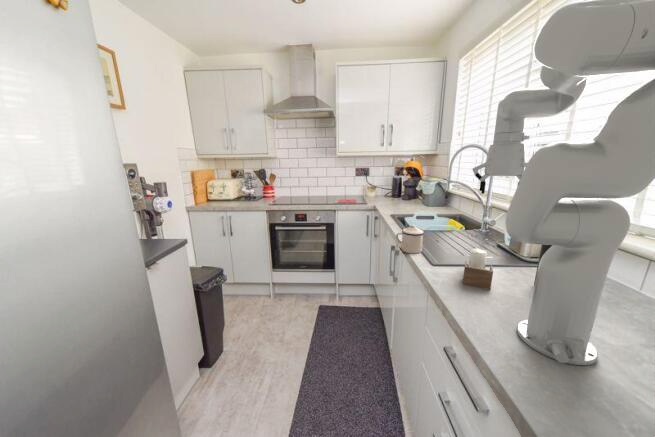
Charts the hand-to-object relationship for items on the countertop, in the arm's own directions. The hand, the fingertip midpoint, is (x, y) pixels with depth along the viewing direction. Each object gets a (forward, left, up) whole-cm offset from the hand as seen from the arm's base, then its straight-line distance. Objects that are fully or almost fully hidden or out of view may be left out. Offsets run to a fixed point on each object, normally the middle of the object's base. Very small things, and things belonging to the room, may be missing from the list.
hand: (499, 193), depth 79 cm
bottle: (-5, -15, -28) cm, 32 cm away
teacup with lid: (+10, +30, -28) cm, 42 cm away
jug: (-1, +4, -28) cm, 28 cm away
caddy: (-12, +4, -28) cm, 30 cm away
